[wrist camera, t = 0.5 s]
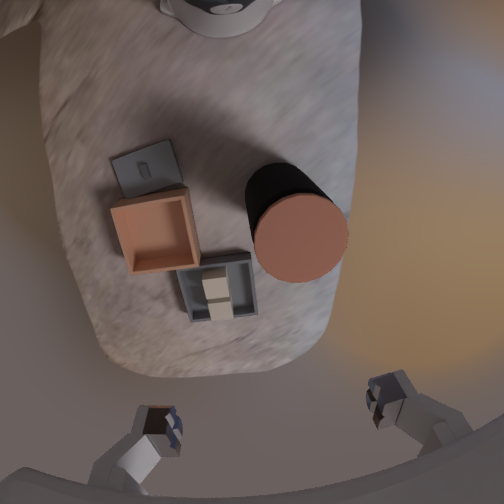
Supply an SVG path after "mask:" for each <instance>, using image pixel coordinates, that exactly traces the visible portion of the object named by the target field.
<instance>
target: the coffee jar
mask: <svg viewBox="0 0 504 504" xmlns="http://www.w3.org/2000/svg"><path fill="white" fill-rule="evenodd" d="M245 202H246V208H247V214H248V219H249V225H250V230H251V236H252V240H253V243H254V250H255V253H256V256H257V259H258V262H259V263H260V265H261V266H262V267H263V268H264V269H265V271H266V272H267V273H269V274H270V275H272V276H274V277H275V278H277V279H278V280H282V281H286V282H290V283H301V282H308V281H311V280H315V279H318V278H320V277H322V276H323V275H325V274H326V273H328V272H329V271H331V270H332V269H333V268H334V267H335V266H336V265H337V263H338V262H339V261H340V260H341V258H342V256H343V254H344V252H345V250H346V248H347V243H348V237H349V232H348V226H347V221H346V219H345V217H344V215H343V213H342V212H341V210H340V209H339V208H338V207H337V206H336V205H335V204H334V203H333V201H332V200H331V199H330V198H329V197H328V196H327V195H326V194H325V193H324V192H323V191H322V190H321V189H320V188H319V187H318V186H317V185H316V184H315V183H314V182H313V181H312V180H311V179H310V178H309V177H308V176H307V175H305V174H304V173H303V172H302V171H301V170H300V169H298V168H297V167H296V166H293V165H290V164H287V163H272V164H269V165H266V166H263V167H262V168H261V169H259V170H258V171H256V172H255V173H254V174H253V176H252V177H251V178H250V180H249V181H248V184H247V187H246V190H245Z"/></svg>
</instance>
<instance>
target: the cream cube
mask: <svg viewBox="0 0 504 504" xmlns="http://www.w3.org/2000/svg"><path fill="white" fill-rule="evenodd" d="M202 283H203V287H204V291H205V295H206V299H215V298H223V297H230V294H229V280H228V274H227V268H226V266H220V267H212V268H205V269H203V275H202Z"/></svg>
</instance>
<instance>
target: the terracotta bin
mask: <svg viewBox="0 0 504 504" xmlns="http://www.w3.org/2000/svg"><path fill="white" fill-rule="evenodd" d="M110 210H111V214H112V217H113V221H114V224H115V228H116V231H117V235H118V238H119V241H120V245H121V248H122V251H123V254H124V257H125V260H126V263H127V266H128V269H129V272H130V275H138V274H146V273H154V272H162V271H170V270H178V269H186V268H194V267H199V264H200V257H201V251H200V246H199V242H198V237H197V232H196V227H195V222H194V216H193V211H192V206H191V201H190V195H189V190H188V187H185V188H179V189H173V190H168V191H162V192H156V193H151V194H145V195H140V196H137V197H134V198H131V199H120V200H118V201H117V202H116V203H115V204H114V205H113V206H112V207H111V208H110Z"/></svg>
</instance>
